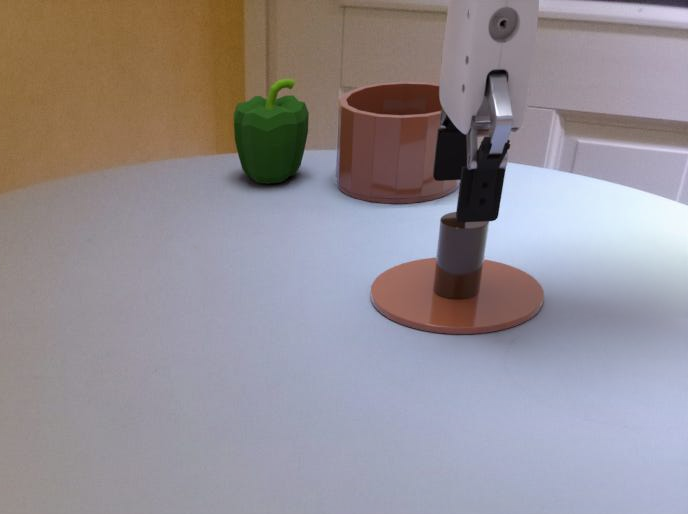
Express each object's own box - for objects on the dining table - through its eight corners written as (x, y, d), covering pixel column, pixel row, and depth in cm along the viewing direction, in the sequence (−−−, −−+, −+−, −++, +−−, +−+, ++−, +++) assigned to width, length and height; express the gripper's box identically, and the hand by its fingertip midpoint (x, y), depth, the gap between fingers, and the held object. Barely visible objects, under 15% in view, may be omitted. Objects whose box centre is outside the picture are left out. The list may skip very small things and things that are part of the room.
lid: (517, 265, 91) (531, 184, 86) (562, 335, 81) (580, 248, 76) (359, 274, 92) (364, 194, 87) (382, 346, 81) (389, 259, 76)
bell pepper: (231, 190, 110) (227, 92, 104) (238, 166, 116) (236, 72, 110) (305, 189, 109) (307, 90, 103) (309, 165, 115) (310, 70, 109)
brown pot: (446, 159, 114) (455, 78, 109) (471, 199, 104) (482, 112, 99) (330, 166, 115) (333, 85, 109) (344, 207, 105) (347, 120, 99)
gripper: (587, -36, 62) (536, 236, 74) (520, -75, 75) (485, 163, 86) (469, -30, 62) (437, 240, 74) (422, -70, 75) (400, 167, 87)
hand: (463, 198), depth 80 cm, fingers open, 9 cm apart
